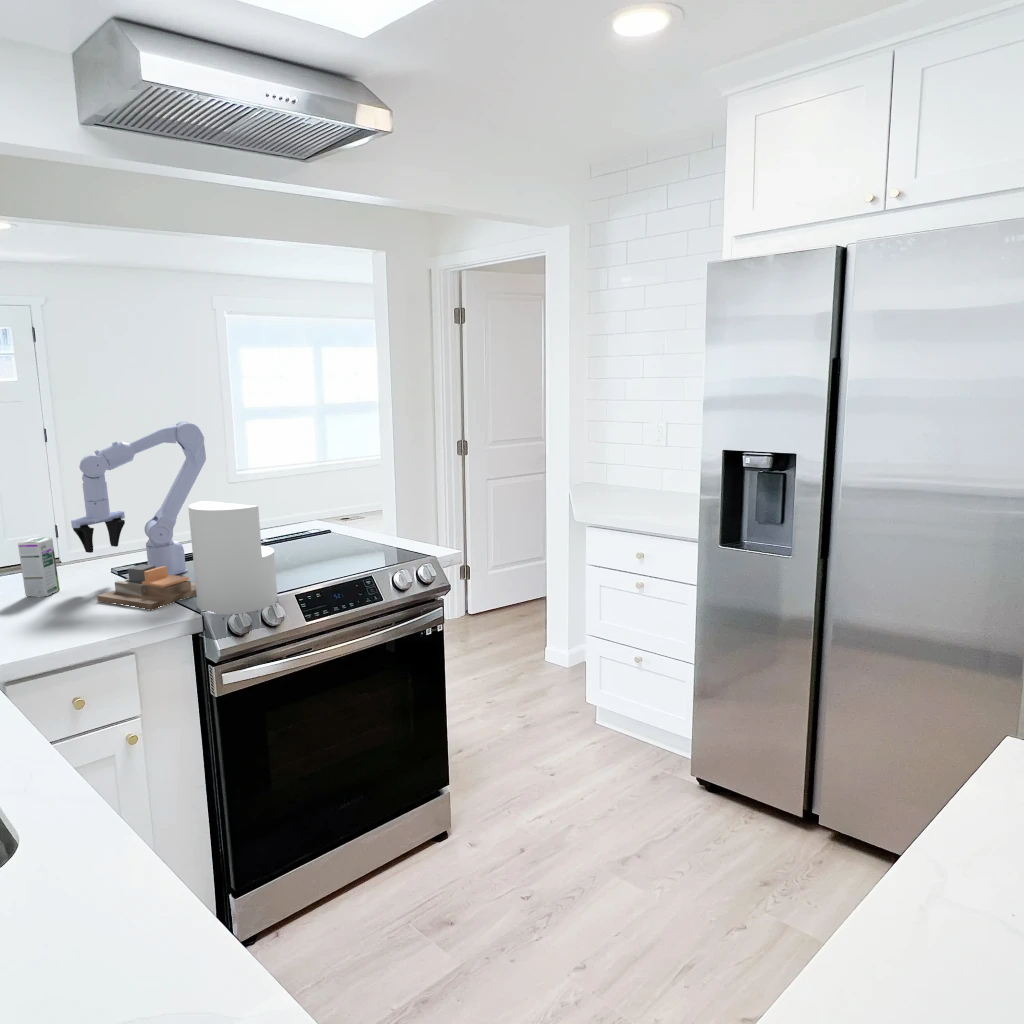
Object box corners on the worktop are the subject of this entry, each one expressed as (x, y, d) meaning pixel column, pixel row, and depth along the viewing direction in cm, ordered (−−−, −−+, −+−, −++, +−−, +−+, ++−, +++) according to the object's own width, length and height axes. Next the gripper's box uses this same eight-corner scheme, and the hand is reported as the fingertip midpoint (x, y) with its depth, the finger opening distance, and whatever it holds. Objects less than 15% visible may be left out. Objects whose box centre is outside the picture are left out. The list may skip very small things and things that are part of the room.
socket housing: (157, 583, 212) (156, 569, 211) (209, 590, 204) (207, 575, 203) (98, 601, 196) (96, 586, 195) (151, 610, 188) (149, 594, 187)
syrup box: (47, 596, 201) (40, 541, 198) (24, 597, 201) (17, 542, 198) (60, 590, 207) (53, 537, 204) (38, 590, 207) (31, 537, 204)
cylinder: (230, 619, 181) (221, 513, 176) (181, 606, 191) (171, 506, 186) (293, 598, 196) (286, 500, 191) (245, 588, 206) (238, 494, 202)
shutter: (168, 576, 203) (167, 565, 202) (189, 579, 199) (188, 567, 199) (142, 584, 196) (140, 572, 195) (163, 587, 192) (162, 575, 192)
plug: (136, 585, 205) (134, 563, 204) (157, 587, 203) (155, 565, 202) (123, 589, 201) (121, 568, 200) (144, 591, 199) (142, 569, 198)
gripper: (110, 494, 218) (115, 542, 220) (61, 503, 205) (67, 553, 207) (127, 496, 215) (133, 544, 217) (79, 504, 202) (85, 556, 204)
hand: (102, 549), depth 212 cm, fingers open, 7 cm apart
